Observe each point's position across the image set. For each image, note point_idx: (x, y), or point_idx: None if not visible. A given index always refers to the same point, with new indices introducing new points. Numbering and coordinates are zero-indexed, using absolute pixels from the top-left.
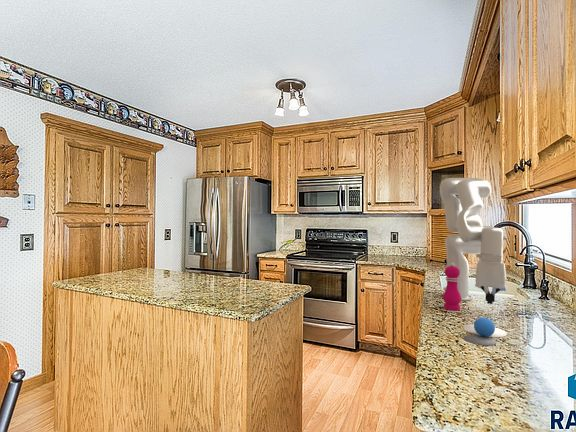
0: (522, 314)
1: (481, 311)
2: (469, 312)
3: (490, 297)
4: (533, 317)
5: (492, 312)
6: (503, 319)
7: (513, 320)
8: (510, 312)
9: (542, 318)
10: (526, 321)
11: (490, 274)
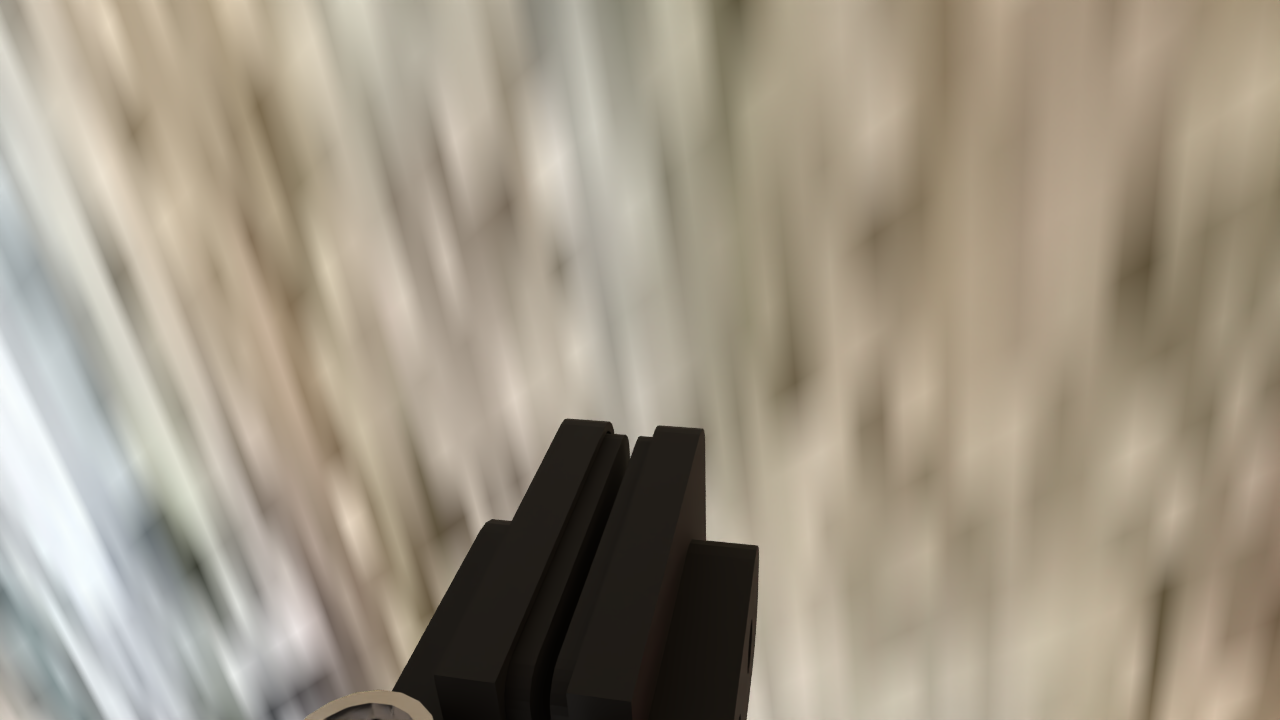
0: (290, 685)
1: (880, 557)
2: (1160, 332)
3: (542, 576)
4: (130, 604)
5: None
6: (397, 169)
7: (239, 221)
8: None
9: (40, 612)
10: (76, 301)
11: None
